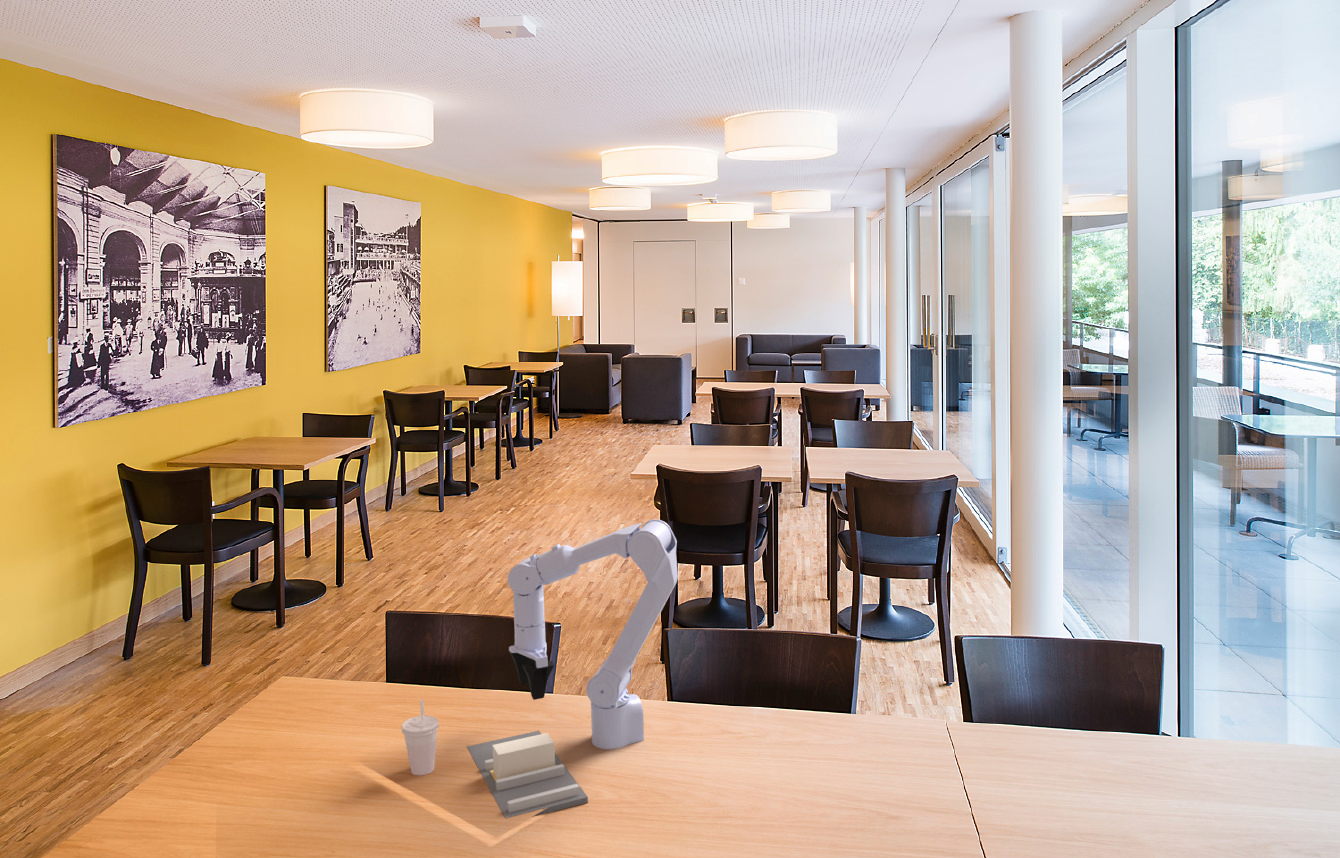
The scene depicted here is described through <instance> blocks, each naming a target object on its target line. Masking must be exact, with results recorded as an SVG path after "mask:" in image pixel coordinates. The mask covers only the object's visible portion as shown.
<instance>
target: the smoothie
mask: <svg viewBox="0 0 1340 858" xmlns="http://www.w3.org/2000/svg"><path fill="white" fill-rule="evenodd" d="M419 702H420V715H418V716H415V717H414V716H413V717H410V718H408V719H406V720H405V721H404V722H403V723H402V724H401V734H403V736H404V741H405V745H406V750H407V751H406V752H407V757H408V761H409V766H410V771H411V774H412V775H415V776H425V775H429V774H430V773H432V772H433V771H434V769H435V760H436V747H437V738H438V737H437V736H438V729H439V727H440V724H439V723H440V722H439V721H440V720H439V719H438V718H437V717H435V716H432V715H425V704H424V699H420V701H419Z"/></svg>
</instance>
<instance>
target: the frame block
mask: <svg viewBox="0 0 1340 858" xmlns="http://www.w3.org/2000/svg"><path fill="white" fill-rule="evenodd" d="M492 748H493V771H494V774H495V775H496V777H497V779H502V778H506V777H510V776H514V775H518V774H523V773H527V772H531V771H535V770H539V769H544V768H548V767H552V766H555V753H556V752H555V751H556V750H555V741H554V740H553V739H552V738H551V736H550V735H549V733H548V732H546V733H541V734H540V735H536V736H531V737H527V738H522V739H517V740H513V741H508V742H504V743H499V744H495V745H492Z"/></svg>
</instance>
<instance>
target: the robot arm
mask: <svg viewBox="0 0 1340 858" xmlns="http://www.w3.org/2000/svg"><path fill="white" fill-rule="evenodd" d="M642 524H643V522H640V523H636V524H632V525H630V526H626V527H624V528H621V529H618V530H616V531H613V532H611V533H609V534H606V535H603V536H601V537H599V538H596V539H594V540H591V541H589V542H588V543H585V544H583V545H580V546H578V547H573V546H570V545H569V544H568V545H567V544H565V545H562V546H561V544H560V543H558V544H555V545H553V546H552V547H551V550H549V551H545V552H543V553H541V554H537V553H534V554H531V555H530V556H529V557H527V558H524V559H523V560H522V561H520V562H519V563H518V564H516V565H515V566H514V567H512V568H511V569H510V570H509V572H508V575H507V584H508V586H509V588H510V589H511V591H512V592H513V596H512V597H513V601H512V602H513V622H514V623H513V624H514V626H513V627H514V644H513V645H510V646H508V652H509V653H510V655H511V657H512V659H513V662H514V664H515V668H516V672H517V676H518V679H519V683H520V685H521V686H524V685H529V691H530V695H531V699H532V700H533V701H534V700H535V701H536V700H540V699H544V698H545V695H546V690H547V685H548V680H549V677H550V676H551V675H550V674H551V673H552V672H553V669H554V668H555V667H554V666H555V663H554V662H553V661H552V660H548V655H547V645H548V644H547V642H546V621H545V597H544V596H545V595H544V586H548V585H550V584H553V583H555V582H558V581H561V580H563V579H566V578H569V577H572V576H574V575H576V574H577V573H578V572H579V570H580V567H581V565H584V564H588V563H590V562H594V561H596V560H599V559H603V558H605V557H609V556H611V555H615V554H616V555H618V556H620V557H621V558H624V559H625V560H627V559H628V558H629V557H630V558H631V559H632V562H634V563H635V564H636V566H637V567H638V568H639V569H640V570H641V572H643V575H644V577H645V579H646V582H647V584H646V586H645V587H644V589H643V591H642V593H641V595H640V597H639V598H638V601H637V603H636V604H635V606H634V608H633V610H632V611H631V614H630V615H629V618H628V619H627V622H626V623H625V625H624V627H623V629H622V630H621V633H620V635H619V636H618V639H617V640H616V642H615V644H614V646H613V648H612V649H611V651H610V653H609V655H608V656H607V658H606V659H605V660H604V661H603V662H602V664H601V665H600V667H599V669H598V670H597V671H596V672H595V673H594V675H593V676H591V677H590V679H589V680H588V681H587V684H586V689H585V690H586V695H587V698H588V699H589V701H590V713H591V714H590V717H591V720H590V721H591V742H592V743H591V744H592V745H593V746H594V747H596V748H598V749H602V750H616V749H620V748H624V747H626V746H628V745H633V744H636V743H639V742H643V741H645V730H644V729H645V728H644V725H645V723H644V720H645V719H644V709H643V704H642V701H641V699H640V697H639V696H638V695H637V694H636V693H635V694H633V693H632V694H631V693H630V694H629V692H628V691H629V690H628V689H627V686H628V685H629V684H630V682H631V680H632V677H633V666H634V665H635V663H636V659H637V657H638V655H639V653H640V651H641V649H642V648H643V645H644V644H645V642H646V640H647V638H648V637H649V635H650V633H651V631H652V630H653V628H654V625H655V623H656V622H657V621H658V618H659V617H660V614H661V613H662V611H663V609H664V607H665V605H666V603H667V601H668V599H669V597H670V595H671V594H672V592H673V590H674V588H675V587H676V584H677V582H678V579H679V576H678V575H679V573H678V561H677V543H678V541H677V538H676V536H675V534H674V532H673V530H672V529H671V526H670V525H669V524H668V523H667V522H665V521H663V520H661V519H657V518H656V519H650V520H647V521H646V522H645V523H644V524H643V525H642ZM640 527H641V528H640Z"/></svg>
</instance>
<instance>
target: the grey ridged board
mask: <svg viewBox="0 0 1340 858" xmlns="http://www.w3.org/2000/svg"><path fill="white" fill-rule="evenodd" d="M540 734H542V732H541V731H540V730H535V731H531V732H527V733H522V734H516V735H513V736H508V737H503V738H498V739H494V740H490V741H489V740H488V741H485V742H481V743H477V744H476V743H475V744H471V745H467V746H466V748H467V749H468V751H469V754H470V755H471V757H472V759H473V761H474V763H475V765H476V766H477V768H478V770H479V772H480V774H481V776H482V778H483V780H484V781H485V783H486V785H487V787H488V788H489V791H490V792H491V794H492V796H493V798H494V800H495V802H496V803H497V806H498V807H499V810H500V811H501V813H502V815H503V817H504V818H505V819H509V818H512V817H516V816H520V815H525V814H529V813H531V812H532V813H533V812H536V811H539V812H538V813H535V814H534V815H533V816H532V818H533V817H538V816H541V815H545V814H548V813H549V814H550V813H554V812H558V811H561V810H565V809H569V808H572V807H577V806H579V805H580V806H581V805H584V804H587V803H589V797H588V796H587V794H586V793H585V791H584V790H583V789H582V787H581V786H580V784H579V783H578V781H577V780H576V778H574V776H573V775H572V774H571V772H570V771H569V769H568V768H567V767H566V765H565V764H564V762H563V761H562V760H561V759H560V757H559V756H558V755H557V753H556V752H555V766H552V767H548V768H544V769H539V770H535V771H531V772H527V773H523V774H518V775H514V776H510V777H506V778H502V779H497V777H496V775H495V774H494V771H493V748H492V745H495V744H499V743H504V742H508V741H513V740H517V739H522V738H527V737H531V736H536V735H540ZM540 810H542V811H540Z"/></svg>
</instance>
